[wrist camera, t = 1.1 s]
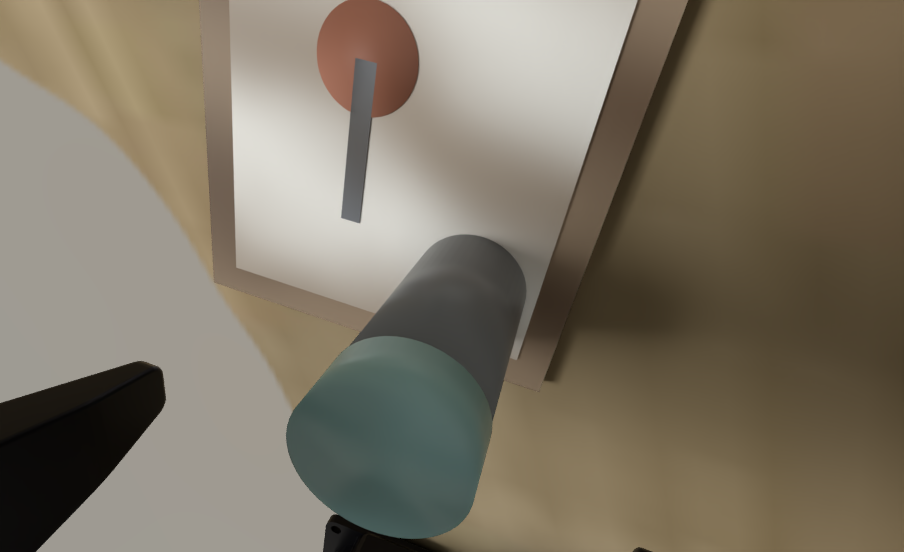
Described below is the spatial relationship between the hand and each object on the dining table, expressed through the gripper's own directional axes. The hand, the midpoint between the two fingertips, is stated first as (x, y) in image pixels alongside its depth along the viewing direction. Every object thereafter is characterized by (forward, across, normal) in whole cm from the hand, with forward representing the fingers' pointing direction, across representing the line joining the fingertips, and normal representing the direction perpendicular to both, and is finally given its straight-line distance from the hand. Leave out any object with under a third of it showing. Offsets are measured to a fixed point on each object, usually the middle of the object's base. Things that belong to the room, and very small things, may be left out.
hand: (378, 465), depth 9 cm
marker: (+7, 0, 0) cm, 7 cm away
